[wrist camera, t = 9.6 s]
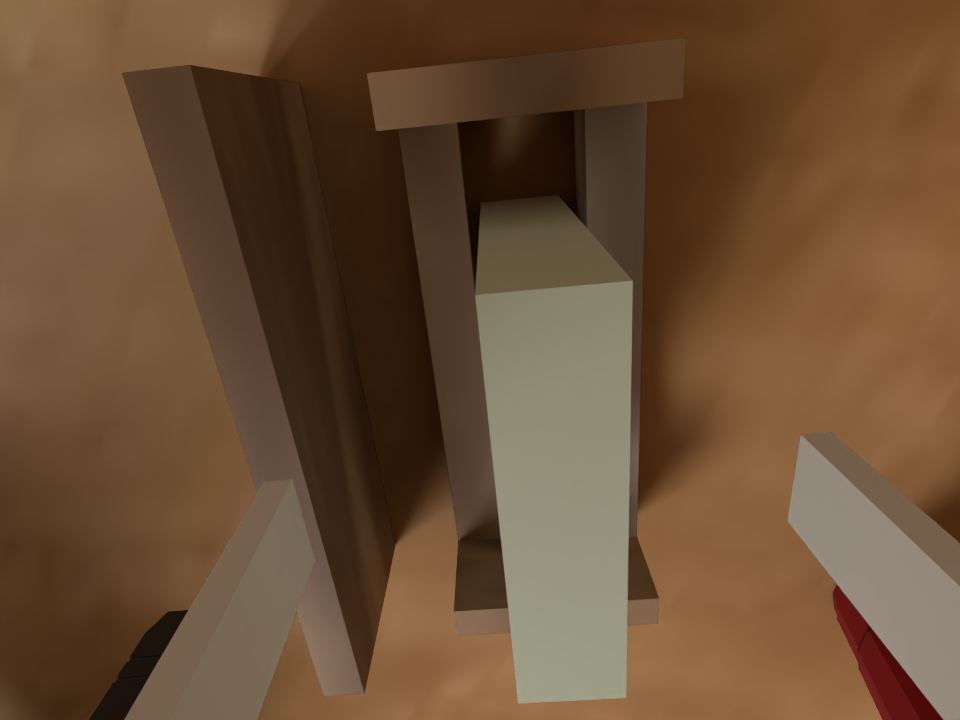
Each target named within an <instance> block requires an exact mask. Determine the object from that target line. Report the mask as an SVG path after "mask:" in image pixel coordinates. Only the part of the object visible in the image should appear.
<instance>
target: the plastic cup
mask: <svg viewBox="0 0 960 720" xmlns="http://www.w3.org/2000/svg"><path fill="white" fill-rule="evenodd" d="M833 601H834V609H835V611H836V613H837V620H838V622H839V624H840V626H841V628H842V630H843V632H844V634H845V636H846V638H847V640H848V642H849V644H850V646H851V648H852V651H853V653H854V655H855V657H856V659H857V661H858V665H859V670H860V672H861V674H862V676H863V679H864V681H865V683H866V685H867V687H868V689H869V692H870V694H871V696H872V698H873V700H874V702H875V704H876V707H877V709H878V711H879V713H880V715H881V717H882V720H943V718H942V717H941V716H940V715H939V713H938V712H937V711H936V710H935V708H934V707H933V706H932V704H931V703H930V702H929V701H928V699H927V698H926V697H925V696H924V694H923V693H922V692H921V690H920V689H919V688H918V687H917V685H916V684H915V683H914V682H913V680H912V679H911V678H910V676H909V675H908V674H907V673H906V671H905V670H904V669H903V668H902V666H901V665H900V664H899V662H898V661H897V660H896V659H895V657H894V656H893V655H892V653H891V652H890V651H889V650H888V648H887V647H886V646H885V645H884V643H883V642H882V641H881V639H880V638H879V637H878V636H877V634H876V633H875V632H874V631H873V629H872V628H871V627H870V625H869V624H868V623H867V622H866V620H865V619H864V618H863V617H862V615H861V614H860V613H859V611H858V610H857V609H856V608H855V606H854V605H853V604H852V603H851V601H850V600H849V599H848V597H847V596H846V595H845V594H844V592H843V591H842V590H841V589H840V587H839V586H838V585H837V586H836V588H835V590H834V592H833Z"/></svg>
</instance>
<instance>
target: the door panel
mask: <svg viewBox="0 0 960 720" xmlns="http://www.w3.org/2000/svg"><path fill="white" fill-rule="evenodd" d="M475 299H476V308H477V318H478V327H479V337H480V346H481V356H482V365H483V375H484V384H485V393H486V403H487V412H488V422H489V431H490V441H491V450H492V460H493V469H494V479H495V488H496V497H497V507H498V516H499V526H500V535H501V545H502V554H503V564H504V573H505V583H506V592H507V601H508V611H509V620H510V630H511V639H512V649H513V658H514V668H515V677H516V687H517V696H518V703H537V702H556V701H575V700H593V699H612V698H626V665H627V604H628V543H629V483H630V422H631V361H632V300H633V280H632V279H631V278H630V277H629V276H628V275H627V273H626V272H625V271H624V270H623V269H622V268H621V267H620V265H619V264H618V263H617V262H616V261H615V260H614V259H613V257H612V256H611V255H610V254H609V253H608V252H607V251H606V249H605V248H604V247H603V246H602V245H601V244H600V243H599V241H598V240H597V239H596V238H595V237H594V236H593V235H592V233H591V232H590V231H589V230H588V229H587V228H586V227H585V225H584V224H583V223H582V222H581V221H580V220H579V219H578V217H577V216H576V215H575V214H574V213H573V212H572V211H571V209H570V208H569V207H568V206H567V205H566V204H565V203H564V201H563V200H562V199H561V198H560V197H559V196H558V195H552V196H542V197H532V198H522V199H512V200H502V201H492V202H482V203H481V209H480V225H479V241H478V257H477V273H476V288H475Z"/></svg>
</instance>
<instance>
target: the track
mask: <svg viewBox="0 0 960 720" xmlns="http://www.w3.org/2000/svg"><path fill="white" fill-rule="evenodd" d="M685 51H686V37H685V38H676V39H667V40H658V41H649V42H641V43H632V44H623V45H614V46H605V47H596V48H587V49H578V50H569V51H560V52H551V53H542V54H534V55H525V56H516V57H507V58H498V59H489V60H480V61H471V62H462V63H453V64H444V65H435V66H427V67H418V68H409V69H400V70H391V71H382V72H373V73H367V78H368V84H369V90H370V97H371V103H372V109H373V115H374V121H375V127H376V131H383V130H392V129H398V133H399V140H400V147H401V154H402V161H403V167H404V174H405V181H406V188H407V195H408V201H409V208H410V215H411V222H412V229H413V236H414V242H415V249H416V256H417V263H418V270H419V276H420V283H421V290H422V297H423V304H424V310H425V317H426V324H427V331H428V338H429V345H430V351H431V358H432V365H433V372H434V379H435V385H436V392H437V399H438V406H439V413H440V419H441V426H442V433H443V440H444V447H445V454H446V460H447V467H448V474H449V481H450V488H451V494H452V501H453V508H454V515H455V522H456V528H457V535H458V555H457V571H456V587H455V602H454V615H455V621H456V628H457V634H458V636H465V635H482V634H498V633H511V630H510V620H509V611H508V601H507V592H506V583H505V573H504V564H503V554H502V545H501V535H500V526H499V516H498V507H497V497H496V488H495V479H494V469H493V460H492V450H491V441H490V431H489V422H488V412H487V403H486V393H485V384H484V375H483V365H482V356H481V346H480V337H479V327H478V318H477V308H476V299H475V288H476V277H475V268H474V258H473V248H472V239H471V229H470V220H469V210H468V200H467V191H466V181H465V172H464V162H463V152H462V143H461V133H460V123H459V122H467V121H477V120H486V119H495V118H505V117H514V116H523V115H533V114H542V113H551V112H561V111H570V110H574V144H575V183H576V216H577V217H578V219H579V220H580V221H581V222H582V223H583V224H584V225H585V227H586V228H587V229H588V230H589V231H590V232H591V233H592V235H593V236H594V237H595V238H596V239H597V240H598V241H599V243H600V244H601V245H602V246H603V247H604V248H605V249H606V251H607V252H608V253H609V254H610V255H611V256H612V257H613V259H614V260H615V261H616V262H617V263H618V264H619V265H620V267H621V268H622V269H623V270H624V271H625V272H626V273H627V275H628V276H629V277H630V278H631V279H632V280H633V300H632V361H631V422H630V483H629V543H628V604H627V626H628V625H644V624H658V611H659V597H658V594H657V591H656V588H655V586H654V583H653V580H652V577H651V574H650V572H649V569H648V566H647V563H646V560H645V558H644V555H643V552H642V549H641V547H640V544H639V541H638V538H637V511H638V470H639V429H640V387H641V346H642V304H643V263H644V222H645V180H646V139H647V102H654V101H664V100H673V99H682V98H683V93H684V72H685ZM122 75H123V78H124V81H125V84H126V87H127V90H128V93H129V96H130V99H131V102H132V105H133V108H134V112H135V115H136V118H137V121H138V124H139V127H140V130H141V133H142V136H143V139H144V142H145V146H146V149H147V152H148V155H149V158H150V161H151V164H152V167H153V170H154V173H155V176H156V180H157V183H158V186H159V189H160V192H161V195H162V198H163V201H164V204H165V207H166V210H167V213H168V217H169V220H170V223H171V226H172V229H173V232H174V235H175V238H176V241H177V244H178V247H179V251H180V254H181V257H182V260H183V263H184V266H185V269H186V272H187V275H188V278H189V281H190V285H191V288H192V291H193V294H194V297H195V300H196V303H197V306H198V309H199V312H200V315H201V318H202V322H203V325H204V328H205V331H206V334H207V337H208V340H209V343H210V346H211V349H212V352H213V356H214V359H215V362H216V365H217V368H218V371H219V374H220V377H221V380H222V383H223V386H224V390H225V393H226V396H227V399H228V402H229V405H230V408H231V411H232V414H233V417H234V420H235V423H236V427H237V430H238V433H239V436H240V439H241V442H242V445H243V448H244V451H245V454H246V457H247V461H248V464H249V467H250V470H251V473H252V476H253V479H254V482H255V485H256V488H257V491H258V490H259V489H260V487H261V485H262V484H263V482H268V481H280V480H291V479H292V480H293V484H294V487H295V491H296V494H297V498H298V501H299V505H300V508H301V512H302V515H303V519H304V522H305V526H306V530H307V533H308V537H309V540H310V544H311V547H312V551H313V554H314V558H315V562H314V565H313V568H312V571H311V573H310V576H309V579H308V582H307V584H306V587H305V590H304V593H303V595H302V598H301V601H300V604H299V606H298V609H297V615H298V618H299V621H300V624H301V627H302V630H303V633H304V637H305V640H306V643H307V646H308V649H309V652H310V655H311V658H312V661H313V664H314V667H315V671H316V674H317V677H318V680H319V683H320V686H321V689H322V692H323V695H324V696H334V695H352V694H364V693H365V688H366V683H367V679H368V674H369V669H370V664H371V659H372V655H373V650H374V645H375V640H376V635H377V631H378V626H379V621H380V616H381V612H382V607H383V602H384V597H385V592H386V588H387V583H388V578H389V573H390V568H391V564H392V559H393V554H394V549H395V542H394V537H393V532H392V527H391V522H390V518H389V513H388V508H387V503H386V498H385V494H384V489H383V484H382V479H381V474H380V470H379V465H378V460H377V455H376V450H375V446H374V441H373V436H372V431H371V426H370V421H369V417H368V412H367V407H366V402H365V397H364V393H363V388H362V383H361V378H360V373H359V369H358V364H357V359H356V354H355V349H354V345H353V340H352V335H351V330H350V325H349V321H348V316H347V311H346V306H345V301H344V297H343V292H342V287H341V282H340V277H339V272H338V268H337V263H336V258H335V253H334V248H333V244H332V239H331V234H330V229H329V224H328V220H327V215H326V210H325V205H324V200H323V196H322V191H321V186H320V181H319V176H318V172H317V167H316V162H315V157H314V152H313V148H312V143H311V138H310V133H309V128H308V124H307V119H306V114H305V109H304V104H303V99H302V95H301V90H300V85H299V83H296V82H290V81H284V80H278V79H271V78H265V77H259V76H253V75H247V74H241V73H235V72H229V71H223V70H217V69H211V68H205V67H199V66H193V65H186V66H177V67H168V68H160V69H151V70H142V71H134V72H125V73H122Z"/></svg>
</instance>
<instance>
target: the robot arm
mask: <svg viewBox="0 0 960 720" xmlns="http://www.w3.org/2000/svg"><path fill="white" fill-rule="evenodd" d="M788 522H789V524H790V525H791V526H792V527H793V529H794V530H795V531H796V533H797V534H798V535H799V536H800V538H801V539H802V540H803V541H804V543H805V544H806V545H807V547H808V548H809V549H810V550H811V552H812V553H813V554H814V555H815V557H816V558H817V559H818V561H819V562H820V563H821V564H822V566H823V567H824V568H825V569H826V571H827V572H828V573H829V575H830V576H831V577H832V578H833V580H834V581H835V582H836V583H837V585H838V586H839V587H840V589H841V590H842V591H843V592H844V594H845V595H846V596H847V597H848V599H849V600H850V601H851V603H852V604H853V605H854V606H855V608H856V609H857V610H858V611H859V613H860V614H861V615H862V617H863V618H864V619H865V620H866V622H867V623H868V624H869V625H870V627H871V628H872V629H873V631H874V632H875V633H876V634H877V636H878V637H879V638H880V639H881V641H882V642H883V643H884V645H885V646H886V647H887V648H888V650H889V651H890V652H891V653H892V655H893V656H894V657H895V659H896V660H897V661H898V662H899V664H900V665H901V666H902V668H903V669H904V670H905V671H906V673H907V674H908V675H909V676H910V678H911V679H912V680H913V682H914V683H915V684H916V685H917V687H918V688H919V689H920V690H921V692H922V693H923V694H924V696H925V697H926V698H927V699H928V701H929V702H930V703H931V704H932V706H933V707H934V708H935V710H936V711H937V712H938V713H939V715H940V716H941V717H942V718H943V720H960V543H959V542H958V541H957V540H956V539H955V538H953V537H952V536H951V535H950V534H949V533H948V532H946V531H945V530H944V529H943V528H942V527H941V526H940V525H938V524H937V523H936V522H935V521H934V520H933V519H931V518H930V517H929V516H928V515H927V514H926V513H925V512H923V511H922V510H921V509H920V508H919V507H918V506H916V505H915V504H914V503H913V502H912V501H911V500H910V499H908V498H907V497H906V496H905V495H904V494H903V493H901V492H900V491H899V490H898V489H897V488H896V487H895V486H893V485H892V484H891V483H890V482H889V481H888V480H886V479H885V478H884V477H883V476H882V475H881V474H880V473H878V472H877V471H876V470H875V469H874V468H873V467H871V466H870V465H869V464H868V463H867V462H866V461H865V460H863V459H862V458H861V457H860V456H859V455H858V454H856V453H855V452H854V451H853V450H852V449H851V448H850V447H848V446H847V445H846V444H845V443H844V442H843V441H841V440H840V439H839V438H838V437H837V436H836V435H835V434H833V433H832V432H825V433H813V434H802V435H801V438H800V444H799V451H798V457H797V463H796V470H795V476H794V482H793V489H792V495H791V502H790V508H789V514H788ZM314 562H315V558H314V554H313V551H312V547H311V544H310V540H309V537H308V533H307V530H306V526H305V522H304V519H303V515H302V512H301V508H300V505H299V501H298V498H297V494H296V491H295V487H294V484H293V480H292V479H291V480H280V481H268V482H263V484H262V485H261V487H260V489H259V490H258V492H257V494H256V496H255V497H254V499H253V501H252V502H251V504H250V506H249V508H248V509H247V511H246V513H245V514H244V516H243V518H242V520H241V521H240V523H239V525H238V526H237V528H236V530H235V531H234V533H233V535H232V537H231V538H230V540H229V542H228V543H227V545H226V547H225V549H224V550H223V552H222V554H221V555H220V557H219V559H218V560H217V562H216V564H215V566H214V567H213V569H212V571H211V572H210V574H209V576H208V578H207V579H206V581H205V583H204V584H203V586H202V588H201V589H200V591H199V593H198V595H197V596H196V598H195V600H194V601H193V603H192V605H191V607H190V608H189V610H184V611H172V612H167V613H166V614H165V615H164V616H163V617H162V618H161V619H160V620H159V621H158V622H157V623H156V624H155V625H153V626H152V627H151V628H150V629H149V630H148V631H147V632H146V633H145V634H144V636H143V637H142V639H141V641H140V642H139V644H138V645H137V647H136V648H135V650H134V651H133V653H132V654H131V656H130V660H129V662H126V664H125V665H124V667H123V668H122V670H121V672H120V673H119V675H118V676H117V681H116V683H113V684H112V686H111V687H110V689H109V690H108V692H107V693H106V695H105V696H104V698H103V700H102V701H101V703H100V704H99V706H98V707H97V709H96V710H95V712H94V714H93V715H92V717H91V718H90V720H257V719H258V717H259V714H260V711H261V708H262V706H263V703H264V700H265V697H266V695H267V692H268V689H269V686H270V684H271V681H272V678H273V675H274V673H275V670H276V667H277V664H278V662H279V659H280V656H281V653H282V650H283V648H284V645H285V642H286V639H287V637H288V634H289V631H290V628H291V626H292V623H293V620H294V617H295V615H296V612H297V609H298V606H299V604H300V601H301V598H302V595H303V593H304V590H305V587H306V584H307V582H308V579H309V576H310V573H311V571H312V568H313V565H314Z"/></svg>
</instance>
